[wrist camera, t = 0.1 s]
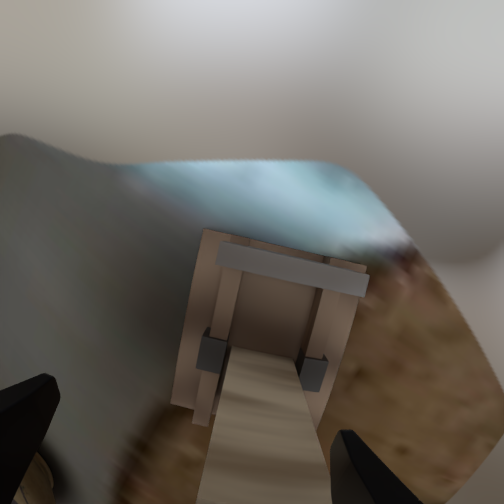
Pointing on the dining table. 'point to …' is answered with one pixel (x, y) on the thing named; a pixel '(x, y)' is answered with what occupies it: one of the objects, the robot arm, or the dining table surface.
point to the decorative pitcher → (36, 484)
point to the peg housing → (264, 317)
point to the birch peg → (263, 438)
